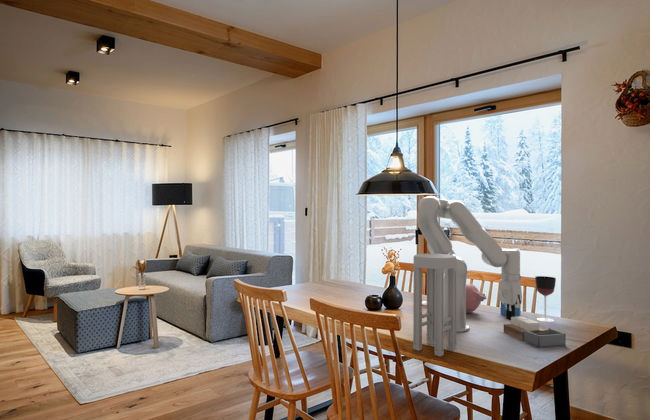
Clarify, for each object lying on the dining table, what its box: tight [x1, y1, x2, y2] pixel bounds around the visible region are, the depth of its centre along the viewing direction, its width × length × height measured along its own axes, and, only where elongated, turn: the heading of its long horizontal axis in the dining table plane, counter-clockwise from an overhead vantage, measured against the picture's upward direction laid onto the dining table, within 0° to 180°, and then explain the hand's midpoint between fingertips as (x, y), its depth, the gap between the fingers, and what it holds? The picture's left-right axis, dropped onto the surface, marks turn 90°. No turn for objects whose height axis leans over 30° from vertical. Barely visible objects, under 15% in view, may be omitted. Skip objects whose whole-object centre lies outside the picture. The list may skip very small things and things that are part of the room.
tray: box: [522, 327, 567, 349], centre depth 170 cm, size 12×8×4 cm
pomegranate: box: [466, 281, 487, 314], centre depth 218 cm, size 15×20×15 cm
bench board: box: [503, 323, 548, 342], centre depth 180 cm, size 12×12×4 cm
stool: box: [412, 253, 457, 357], centre depth 162 cm, size 16×16×35 cm
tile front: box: [520, 319, 540, 331], centre depth 178 cm, size 5×5×3 cm
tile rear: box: [510, 315, 530, 327], centre depth 183 cm, size 5×5×3 cm
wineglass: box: [534, 275, 557, 323], centre depth 206 cm, size 8×9×20 cm
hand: (510, 319), depth 189 cm, fingers closed
